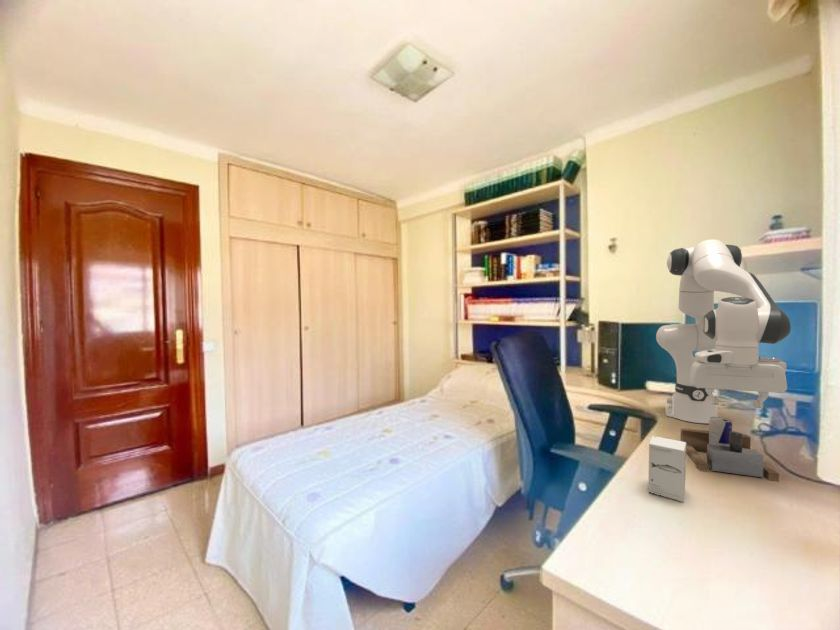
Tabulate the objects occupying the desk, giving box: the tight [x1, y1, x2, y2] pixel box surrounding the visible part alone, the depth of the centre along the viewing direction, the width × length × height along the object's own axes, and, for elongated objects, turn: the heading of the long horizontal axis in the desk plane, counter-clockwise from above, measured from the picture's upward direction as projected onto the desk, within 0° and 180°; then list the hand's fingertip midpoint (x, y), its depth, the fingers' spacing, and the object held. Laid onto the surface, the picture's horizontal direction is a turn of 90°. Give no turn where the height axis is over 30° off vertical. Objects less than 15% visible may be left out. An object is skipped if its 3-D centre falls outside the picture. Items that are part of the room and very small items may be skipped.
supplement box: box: [647, 435, 687, 503], centre depth 88 cm, size 7×7×13 cm
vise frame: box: [680, 427, 780, 482], centre depth 104 cm, size 18×17×6 cm
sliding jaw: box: [706, 430, 764, 478], centre depth 98 cm, size 4×11×11 cm, turn 67°
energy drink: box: [708, 416, 733, 447], centre depth 107 cm, size 5×5×12 cm
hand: (735, 405), depth 97 cm, fingers open, 8 cm apart
